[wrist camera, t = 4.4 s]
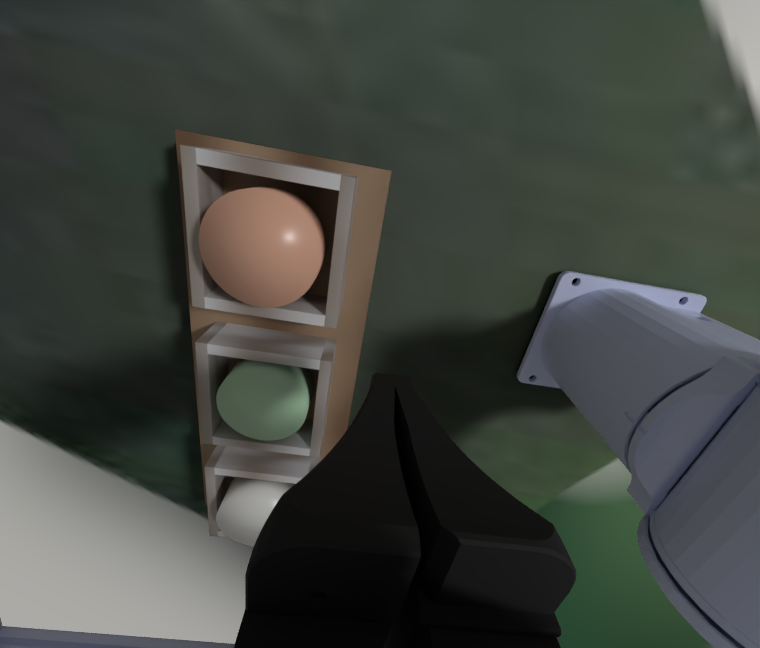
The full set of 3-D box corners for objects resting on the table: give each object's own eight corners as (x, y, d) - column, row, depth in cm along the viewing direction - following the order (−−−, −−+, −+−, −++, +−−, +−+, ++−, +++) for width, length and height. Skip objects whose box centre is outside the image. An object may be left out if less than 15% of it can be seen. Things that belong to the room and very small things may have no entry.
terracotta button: (331, 197, 15) (325, 201, 13) (321, 299, 17) (314, 315, 15) (217, 176, 14) (195, 177, 13) (221, 283, 16) (202, 297, 15)
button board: (390, 170, 17) (393, 171, 13) (334, 496, 28) (327, 551, 24) (196, 133, 17) (138, 122, 13) (216, 483, 28) (188, 537, 24)
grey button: (302, 475, 22) (296, 502, 21) (297, 522, 24) (291, 550, 23) (227, 466, 22) (214, 493, 20) (229, 514, 24) (217, 542, 22)
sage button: (316, 357, 19) (310, 376, 18) (309, 422, 21) (303, 445, 20) (230, 344, 19) (214, 363, 17) (231, 411, 21) (217, 434, 19)
